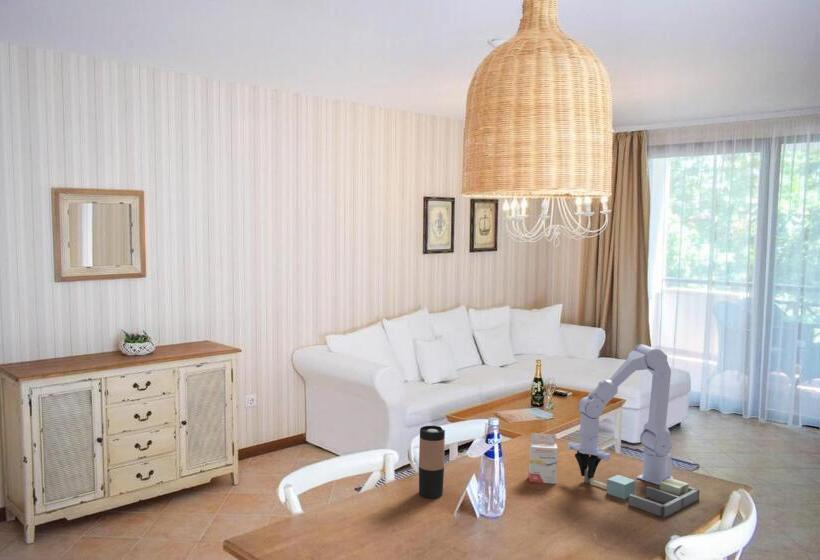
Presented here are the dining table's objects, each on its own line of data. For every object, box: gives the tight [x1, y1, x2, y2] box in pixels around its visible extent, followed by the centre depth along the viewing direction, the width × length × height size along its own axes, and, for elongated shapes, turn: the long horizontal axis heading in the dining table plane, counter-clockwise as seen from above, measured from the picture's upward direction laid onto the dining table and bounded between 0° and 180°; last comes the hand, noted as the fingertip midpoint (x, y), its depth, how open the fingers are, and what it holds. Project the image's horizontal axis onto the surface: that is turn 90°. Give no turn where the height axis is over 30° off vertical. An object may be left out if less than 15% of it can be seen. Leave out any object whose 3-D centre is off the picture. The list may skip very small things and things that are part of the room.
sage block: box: [659, 478, 690, 496], centre depth 201 cm, size 6×6×5 cm
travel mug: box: [418, 425, 446, 499], centre depth 200 cm, size 8×8×20 cm
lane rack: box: [628, 479, 700, 518], centre depth 198 cm, size 21×11×3 cm, turn 131°
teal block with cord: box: [583, 468, 637, 500], centre depth 208 cm, size 6×16×4 cm, turn 41°
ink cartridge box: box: [528, 432, 559, 485], centre depth 213 cm, size 9×5×15 cm, turn 84°
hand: (587, 476), depth 213 cm, fingers closed on teal block with cord, 2 cm apart
